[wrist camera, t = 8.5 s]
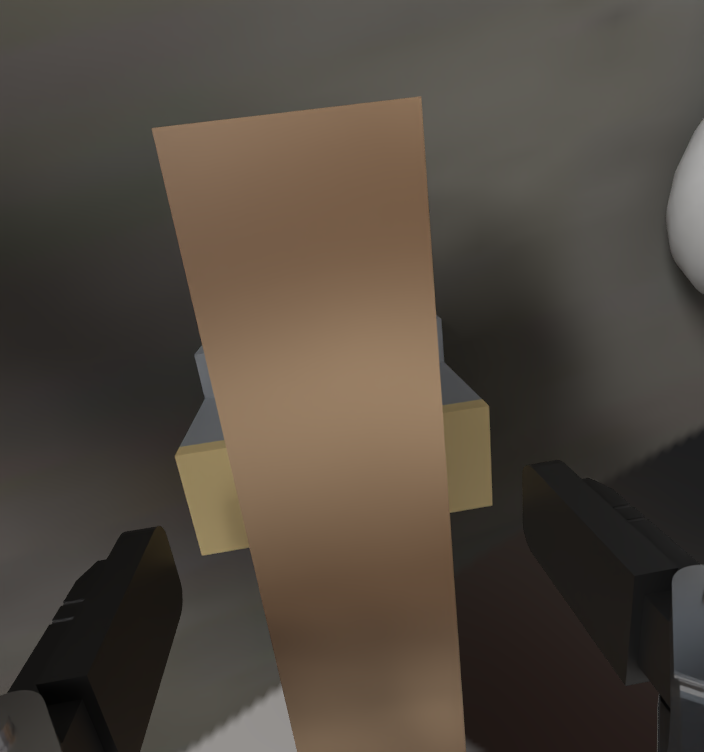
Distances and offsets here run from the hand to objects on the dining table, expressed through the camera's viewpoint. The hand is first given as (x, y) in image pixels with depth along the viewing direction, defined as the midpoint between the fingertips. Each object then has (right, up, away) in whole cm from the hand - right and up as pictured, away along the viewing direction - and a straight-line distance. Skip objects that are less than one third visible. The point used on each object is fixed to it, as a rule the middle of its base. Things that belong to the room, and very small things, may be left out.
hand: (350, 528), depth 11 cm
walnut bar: (0, +1, +2) cm, 2 cm away
